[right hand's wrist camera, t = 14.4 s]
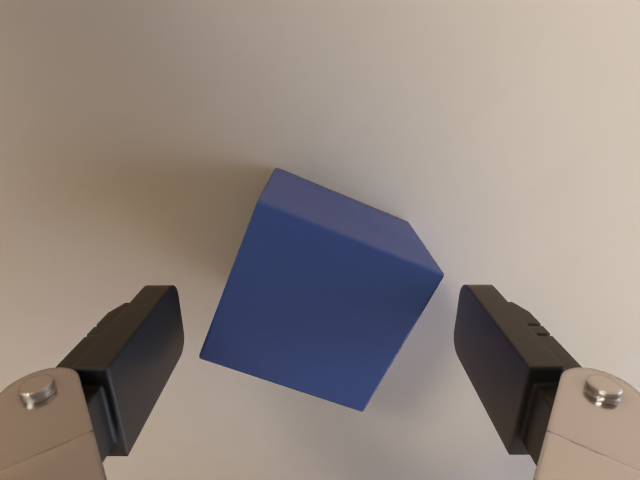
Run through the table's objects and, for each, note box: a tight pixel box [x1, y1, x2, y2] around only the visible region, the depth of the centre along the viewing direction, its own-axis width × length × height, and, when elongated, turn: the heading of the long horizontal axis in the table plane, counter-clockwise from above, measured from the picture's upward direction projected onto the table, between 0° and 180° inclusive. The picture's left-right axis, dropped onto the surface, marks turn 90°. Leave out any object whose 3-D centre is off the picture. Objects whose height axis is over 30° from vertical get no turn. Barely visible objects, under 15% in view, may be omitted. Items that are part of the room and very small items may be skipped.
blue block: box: [199, 168, 444, 411], centre depth 13 cm, size 5×5×4 cm
